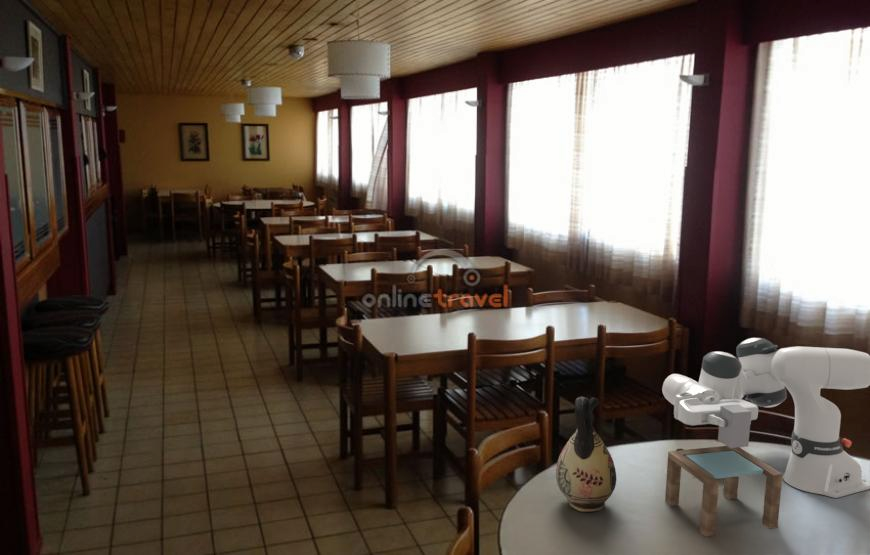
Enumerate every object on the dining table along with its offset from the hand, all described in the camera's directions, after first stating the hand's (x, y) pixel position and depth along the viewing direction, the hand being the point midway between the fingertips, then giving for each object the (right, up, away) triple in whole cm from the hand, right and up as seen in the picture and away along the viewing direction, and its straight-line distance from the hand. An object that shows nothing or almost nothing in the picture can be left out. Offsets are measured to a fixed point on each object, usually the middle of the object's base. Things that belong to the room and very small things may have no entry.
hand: (736, 423), depth 179 cm
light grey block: (0, -5, +2) cm, 6 cm away
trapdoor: (-1, -12, +6) cm, 13 cm away
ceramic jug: (-35, -24, +12) cm, 44 cm away
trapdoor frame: (-1, -25, +8) cm, 26 cm away
